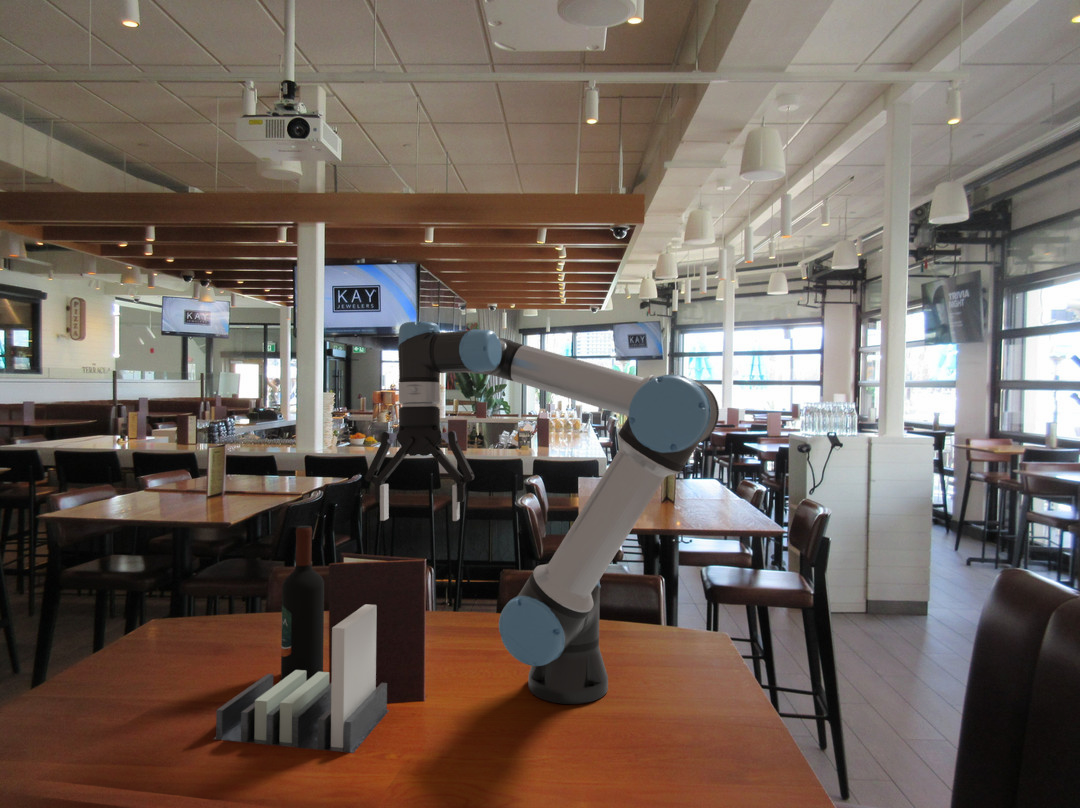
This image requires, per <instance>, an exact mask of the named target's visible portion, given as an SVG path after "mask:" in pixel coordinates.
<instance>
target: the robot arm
mask: <svg viewBox="0 0 1080 808" xmlns="http://www.w3.org/2000/svg"><path fill="white" fill-rule="evenodd" d="M398 328H399V329H398V344H397V352H398V355H397V356H398V403H399V404H400V405H401V407H400V406H399V408H398V430H397V431H398V432H391V431H383V432H382V433H381V439H380V444H379V447H378V449H377V451H376V453H375V454H374V457H373V460H372V461H371V463H370V465H369V467H368V469H367V472H366V473H365V476H364V480H365V481H366V482H370V483H372V484H373V485H374V500H375V502H376V503H379V521H381V522H382V521H383V522H384V521H386V520H388V519H389V518H390V517H389V515H390V514H389V509H390V508H389V507H390V505H389V503H390V501H389V498H390V497H389V491H390V490H389V487H390V485H389V483H385V482H386V480H388V479H389V477H390V476H391V474H392V473H393V472H394V471H395V470H396V468H397V467H398V466H399V465H400V463H401V462H402V461H403V459H405V458H406V457H407V456H408V455H409V457H415V456H423V457H424V456H425V457H427V456H430V455H431V456H432V457H433V458H434V459H436V461H437V462H438V463H439V464H440V465H441V467H442V468H443V469H444V470H445V471H446V472H447V473H448V475H449V476H450V477H451V479H453V481H454V482H455V484H452V486H451V488H452V489H451V491H452V492H451V495H452V497H451V498H452V507H451V508H452V521H453V522H457V521H459V520H460V516H461V514H460V512H461V511H460V510H461V509H460V506H461V505H460V503H463V502H464V501H465V499H466V487H465V486H466V483H469V482H471V481H473V480H474V479H475V474H474V471H473V469H472V468H471V466H470V464H469V462H468V460H467V458H466V456H465V454H464V452H463V450H462V448H461V446H460V444H459V441H458V440H459V439H458V433H457V431H456V430H451V431H448V432H442V430H441V426H440V425H441V421H440V420H441V419H440V418H441V412H440V407H439V406H437V405H438V404H440V403H441V401H440V395H441V393H440V391H441V390H440V374H446V373H448V374H450V373H451V374H453V373H468V374H477V375H478V374H479V375H486V376H487V375H488V376H492V377H493V376H494V377H498V378H501V379H504V380H507V381H511V382H515V383H518V384H521V385H524V386H529V387H531V388H534V389H537V390H541V391H543V392H548V393H551V394H553V395H557V396H561V397H564V398H567V399H570V400H574V401H577V402H581V403H583V404H586V405H590V406H593V407H597V408H599V409H603V410H606V411H610V412H612V413H616V414H619V415H622V416H626V417H627V418H626V420H625V422H624V423H623V425H622V426H621V428H620V430H619V431H618V433H617V439H618V442H619V449H618V451H617V453H616V454H615V456H614V457H613V459H612V460H611V462H610V463H609V465H608V467H607V468H606V470H605V472H604V473H603V475H602V477H601V478H600V480H599V482H598V483H597V484H596V487H595V488H594V489H593V491H592V493H591V494H590V495H589V497H588V498H587V501H586V502H585V504H584V506H583V507H582V509H581V511H580V512H579V514H578V516H577V517H576V519H575V521H574V522H573V524H572V525H571V527H570V528H569V530H568V532H567V533H566V535H565V536H564V538H563V539H562V541H561V543H560V544H559V546H558V547H557V549H556V550H555V552H554V554H553V555H552V558H551V559H550V560H549V562H548V563H545V564H540V565H537V566H536V567H535V568H534V569H533V570H532V572H531V574H530V576H529V577H528V579H527V580H526V582H525V584H524V585H523V587H522V589H521V590H520V592H518V594H517V596H515V597H513V598H512V599H510V600H509V601H508V602H507V603H506V604H505V606H504V607H503V609H502V611H501V613H500V615H499V620H498V631H499V634H500V637H501V638H500V639H501V642H502V644H503V645H504V647H505V649H506V650H507V652H508V653H509V654H510V655H511V656H512V657H513V658H514V659H516V660H517V661H518V662H520V663H522V664H524V665H528V666H530V669H529V672H528V690H529V691H530V692H531V694H532V695H533V696H535V697H537V698H539V699H541V700H543V701H546V702H549V703H554V704H555V703H556V704H562V705H563V704H564V705H579V704H586V703H591V702H595V701H597V700H599V699H601V698H603V697H604V696H605V695H606V694H607V693H608V689H609V677H608V676H609V675H608V672H607V670H606V666H605V662H604V659H603V656H602V653H601V650H600V601H601V600H600V596H601V593H600V592H601V584H600V581H601V578H602V576H603V575H604V574H605V572H606V571H607V569H608V568H609V566H610V564H611V563H612V561H613V559H614V558H615V557H616V554H617V553H618V552H619V551H620V549H621V547H622V545H623V544H624V542H625V541H626V540H627V538H628V536H629V535H630V533H631V531H632V530H633V528H634V527H635V526H636V524H637V522H638V520H639V519H640V518H641V516H642V515H643V513H644V512H645V510H646V508H647V506H648V505H649V504H650V502H651V501H652V499H653V497H654V496H655V494H656V492H657V491H658V489H659V488H660V487H661V484H662V483H664V480H665V478H667V477H668V476H672V475H677V474H680V473H681V472H682V470H683V469H684V467H685V466H686V463H688V461H689V460H690V458H691V456H692V455H693V453H694V452H695V450H696V448H697V447H698V445H699V444H700V443H702V442H704V441H705V440H707V439H708V438H709V437H710V436H711V435H712V433H713V432H714V430H715V429H716V427H717V426H718V425H717V424H718V421H719V417H720V407H719V404H718V401H717V400H718V399H717V398H716V396H715V394H714V393H713V391H711V389H710V388H709V387H708V386H707V385H705V384H704V383H702V382H700V381H699V380H695V379H692V378H689V377H687V376H685V375H682V374H681V375H680V374H663V375H660V376H659V375H656V374H650V375H649V376H647V377H642V376H639V375H635V374H632V373H627V372H625V371H620V370H616V369H613V368H611V367H610V368H609V367H606V366H604V365H602V366H601V365H598V364H596V363H591V362H588V361H584V360H580V359H577V358H574V357H570V356H566V355H562V354H559V353H556V352H551V351H548V350H545V349H540V348H537V347H534V346H531V345H525V344H522V343H519V342H517V341H516V342H515V341H513V340H511V339H507V338H502V337H499V336H497V334H496V332H495V331H493V330H491V329H477V328H473V329H471V330H459V331H447V332H444V331H442V332H441V331H440V327H439V325H438V324H437V323H435V322H432V321H408V322H403V323H402V324H401V325H400V327H398ZM396 440H397V442H398V443H399V445H400V447H399V448H398V450H397V451H396V453H395V455H394V456H393V457H392V458H391V459H390V461H389V462H388V463H387V464H386V465H385V467H384V468H383V469H382V470H381V471H380V468H381V466H382V465H383V462H384V460H385V458H386V456H387V454H388V453H389V450H390V448H391V445H392V444H394V443H395V442H396ZM442 440H444V441H445V443H446V444H447V445H449V449H450V450H451V452H452V454H453V456H454V459H455V460H456V462H457V464H458V466H459V468H460V470H461V472H462V473H461V472H460V471H459V470H458V469H457V468H456V466H455V465H454V464H453V463H452V462H451V460H450V459H449V457H447V455H445V454H444V452H443V450H442V449H441V447H440V446H439V444H440V443H441V442H442ZM379 471H380V473H379ZM378 473H379V474H378ZM462 474H463V475H462Z"/></svg>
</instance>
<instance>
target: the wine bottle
mask: <svg viewBox="0 0 1080 808" xmlns="http://www.w3.org/2000/svg"><path fill="white" fill-rule="evenodd" d="M295 536H296V539H295V540H296V541H295V546H296V547H295V548H296V549H295V566H294V570H293V571H292V572H291V573H290V574H289V575H287V577H286V578H285V579H284V580H283V583H282V588H281V638H280V639H281V642H280V643H281V647H280V648H281V649H280V651H281V653H280V656H281V657H280V658H281V659H280V681H281V680H283V679H284V678H285V677H287V676H288V675H289V674H291V673H292V672H293V671H295V670H305V671H307V673H306V681H307V680H309V679H310V678H311V677H312V676H314V675H315V674H316V673H317V672H324V644H325V643H324V637H325V636H324V633H325V632H324V630H325V629H324V628H325V624H324V623H325V622H324V621H325V619H324V618H325V611H324V610H325V581H324V579H323V577H322V576H321V574H319V573H318V572H317V571H315V570H314V569H313V565H312V536H313V529H312V525H300V526H296V530H295Z"/></svg>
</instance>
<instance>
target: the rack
mask: <svg viewBox="0 0 1080 808" xmlns="http://www.w3.org/2000/svg"><path fill="white" fill-rule="evenodd" d="M331 685H332V681H331V682H329V685H328V686H327V687H326V688H324V689H323V690H322V691H321V692H320V693H319V694H318V695H317V696H315V697H314V698H313V699H312V700H311V701H310V702H309V703H307V704H306V705H305V706H304V707H303V708H302V709H301V710H299V711H298V712H297V713H296V714H295V715H294V716H293V717H292V743H287V742H280V704H279V705H278V706H276V707H275V708H274V709H273V710H272V711H270V712H269V713H268V714H267V723H266V740H257V739H254V733H255V700H256V699H257V698H259V697H260V696H261V695H263V694H264V693H265V692H267V691H268V690H269V689H271V688H272V687H273V686H274V673H267V674H265V675H263V677H261V678H260V679H258V680H257V681H256V682H254V683H253V684H251V685H250V686H248V687H247V688H245V689H244V690H243V691H241V692H240V693H238V694H237V695H235V696H234V697H233V698H231V699H230V700H228V701H227V702H226V703H224V704H222V706H220V707H219V708H217V709H216V711H215V712H216V715H215V717H216V721H215V722H216V725H215V727H216V729H215V733H216V734H215V737H214V738H213V740H219V741H227V742H238V743H247V744H248V743H249V744H258V745H269V746H278V747H279V746H280V747H287V748H288V747H290V748H300V749H307V750H308V749H310V750H319V751H330V752H340V753H351V754H354V753H355V752H356V750H357V749H358V748H359V747H360V746H361V745H362V744H363V742H364V741H366V739H367V738H368V736H369V735H371V733H372V731H373V730H374V729H375V728H377V726H378V725H379V723H380V722H381V721H382V720H383V719H384V718H385V716H386V715H387V714H388V713H389V712H390V709H388V706H387V705H388V683H387V682H380V684H379V685H378V686H376V689H375V690H374V691H373V692H372V693H371V694H370V695H369V696H368V697H367V698H366V699H365V700H364V702H363V703H362V704H361V705H360V706H359V707H358V708H357V709H356V710H355V711H354V712H353V713H352V714H351V715H350V716H349V717H348V718H347V719H346V720H345V721H344V748H338V747H331Z"/></svg>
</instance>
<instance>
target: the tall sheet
mask: <svg viewBox="0 0 1080 808" xmlns="http://www.w3.org/2000/svg"><path fill="white" fill-rule="evenodd" d="M331 630H332V631H331V682H332V685H331V747H338V748H344V721H345V720H346V719H347V718H348V717H349V716H350V715H351V714H352V713H353V712H354V711H355V710H356V709H357V708H358V707H359V706H360V705H361V704H362V703H363V702H364V700H365V699H366V698H367V697H368V696H369V695H370V694H371V693H372V692H373V691H374V690H375V689H376V688H377V686H376V685H377V680H376V679H377V675H376V674H377V604H367V603H366V604H363V605H362V606H361V607H359V608H358V609H357V610H356V611H354V612H352V613H351V614H349V615H348V616H347V617H345V618H344V619H343V620H341V621H340V622H337V624H336V625H334V626H333V627H332V628H331Z"/></svg>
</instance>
